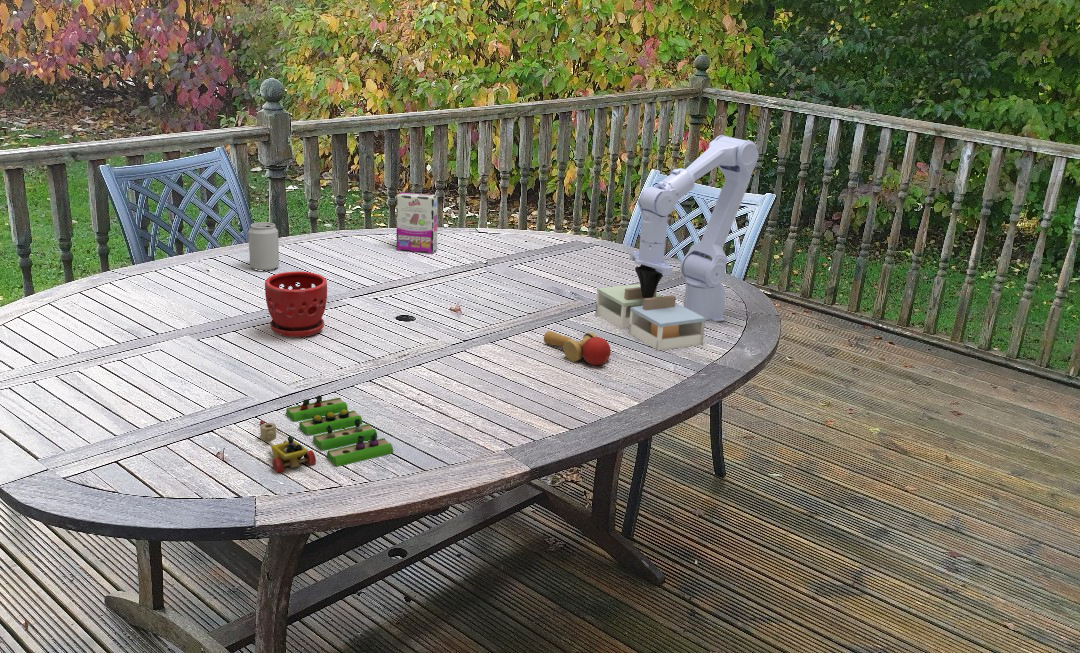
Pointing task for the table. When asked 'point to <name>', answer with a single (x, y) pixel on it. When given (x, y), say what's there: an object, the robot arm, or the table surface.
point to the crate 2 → (642, 329)
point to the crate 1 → (613, 311)
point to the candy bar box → (416, 222)
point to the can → (263, 246)
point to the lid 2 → (666, 312)
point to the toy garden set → (326, 435)
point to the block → (665, 331)
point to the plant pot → (296, 303)
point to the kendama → (581, 347)
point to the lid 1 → (625, 294)
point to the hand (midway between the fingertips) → (647, 297)
